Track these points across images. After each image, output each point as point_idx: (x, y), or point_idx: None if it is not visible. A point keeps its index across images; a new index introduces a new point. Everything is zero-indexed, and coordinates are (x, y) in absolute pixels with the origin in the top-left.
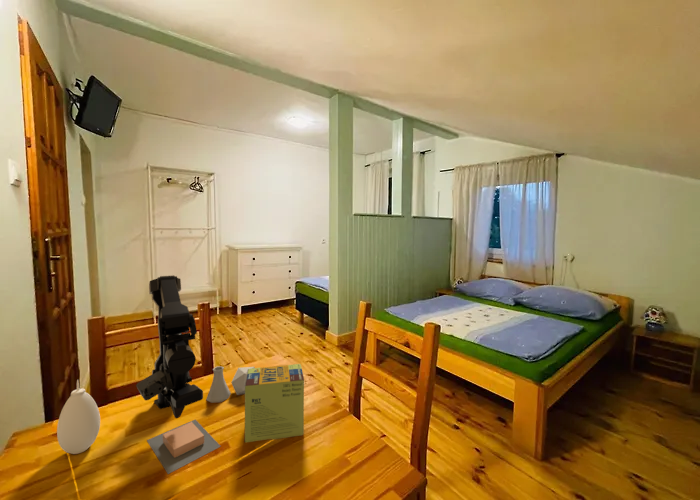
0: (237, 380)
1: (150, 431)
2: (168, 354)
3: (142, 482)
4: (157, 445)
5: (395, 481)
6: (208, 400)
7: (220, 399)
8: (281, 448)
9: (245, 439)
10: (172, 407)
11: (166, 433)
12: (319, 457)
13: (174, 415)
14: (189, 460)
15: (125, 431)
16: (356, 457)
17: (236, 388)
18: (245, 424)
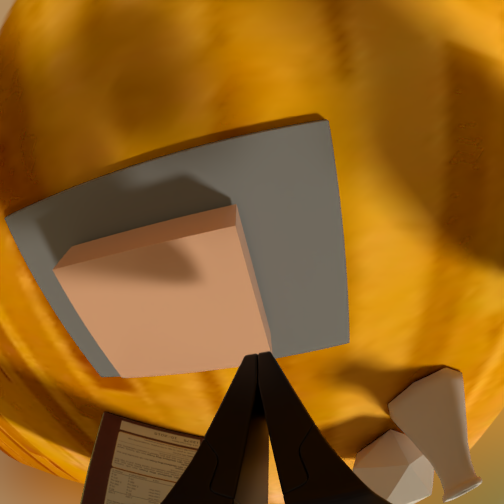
0: (390, 482)
1: (416, 150)
2: None
3: (5, 124)
4: (228, 172)
5: (4, 449)
6: (433, 378)
7: (395, 412)
8: (71, 435)
9: (100, 422)
10: (268, 424)
11: (230, 247)
12: (42, 445)
13: (259, 365)
14: (51, 291)
15: (484, 54)
16: (40, 459)
17: (387, 455)
18: (89, 464)
